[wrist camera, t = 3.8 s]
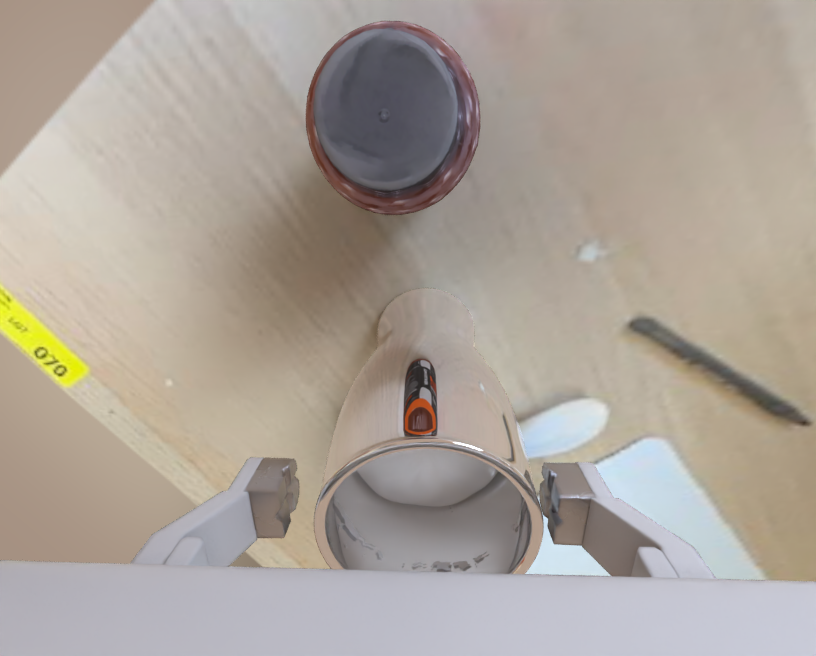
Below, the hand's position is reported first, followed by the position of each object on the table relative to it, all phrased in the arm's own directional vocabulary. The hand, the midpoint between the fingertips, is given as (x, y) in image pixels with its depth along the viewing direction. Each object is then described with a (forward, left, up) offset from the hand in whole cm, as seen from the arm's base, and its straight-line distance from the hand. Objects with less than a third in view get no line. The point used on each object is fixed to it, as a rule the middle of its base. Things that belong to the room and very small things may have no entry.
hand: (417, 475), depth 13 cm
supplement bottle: (-11, -1, -13) cm, 17 cm away
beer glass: (0, 0, -13) cm, 13 cm away
